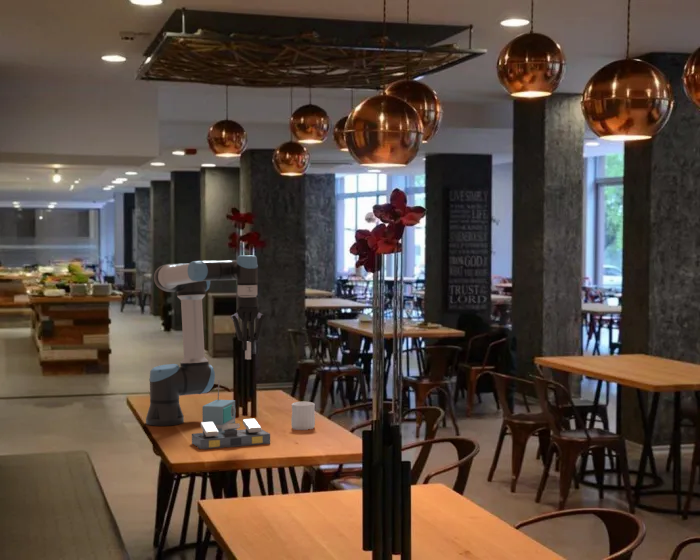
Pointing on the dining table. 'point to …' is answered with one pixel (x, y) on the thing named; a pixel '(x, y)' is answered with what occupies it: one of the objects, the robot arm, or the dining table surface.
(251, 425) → the rocker
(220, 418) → the radio
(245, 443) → the console
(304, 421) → the cup
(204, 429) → the rocker
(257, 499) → the dining table surface
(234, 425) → the rocker
